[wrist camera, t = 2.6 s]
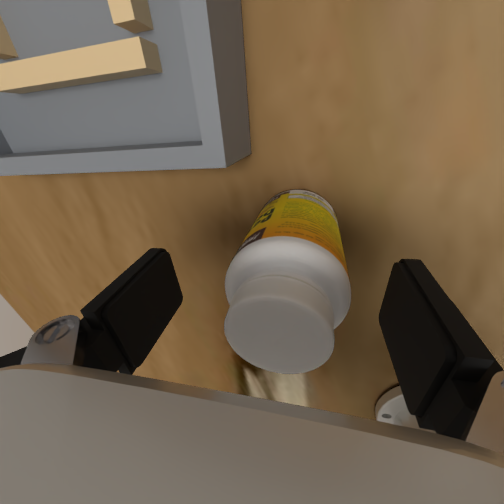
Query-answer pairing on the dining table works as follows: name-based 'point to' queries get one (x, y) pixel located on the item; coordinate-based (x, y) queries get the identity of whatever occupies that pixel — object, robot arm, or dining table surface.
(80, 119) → the walled box
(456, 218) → the dining table surface
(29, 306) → the dining table surface
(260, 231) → the supplement bottle
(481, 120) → the dining table surface
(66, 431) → the robot arm
